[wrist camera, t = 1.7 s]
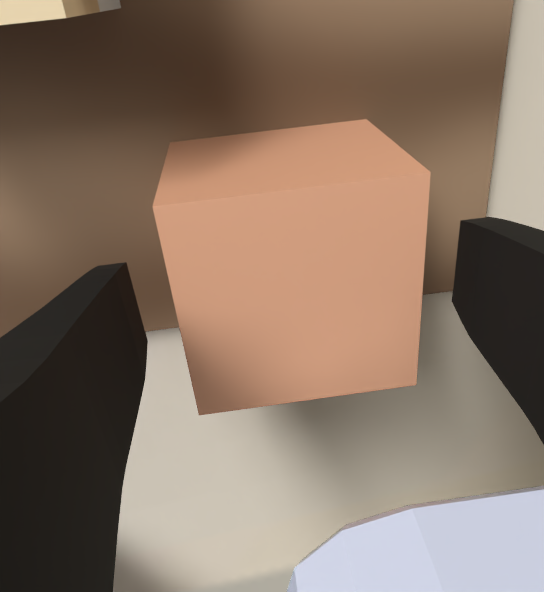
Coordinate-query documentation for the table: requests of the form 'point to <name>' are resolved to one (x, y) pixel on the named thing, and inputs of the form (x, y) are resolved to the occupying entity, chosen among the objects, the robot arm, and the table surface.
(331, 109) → the board
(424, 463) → the table surface
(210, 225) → the block
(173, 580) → the table surface
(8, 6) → the slab top
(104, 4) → the slab bottom
